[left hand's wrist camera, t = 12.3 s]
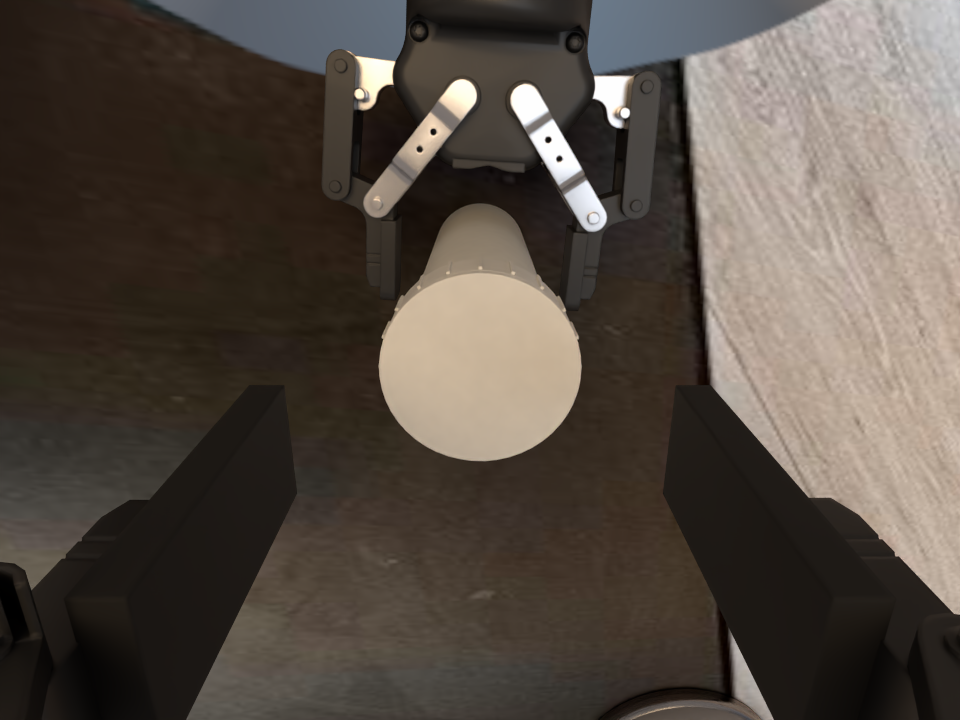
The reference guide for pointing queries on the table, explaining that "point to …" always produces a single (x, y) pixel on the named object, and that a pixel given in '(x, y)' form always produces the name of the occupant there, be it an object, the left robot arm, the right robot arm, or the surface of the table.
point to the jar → (480, 238)
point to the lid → (480, 360)
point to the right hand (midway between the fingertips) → (479, 301)
